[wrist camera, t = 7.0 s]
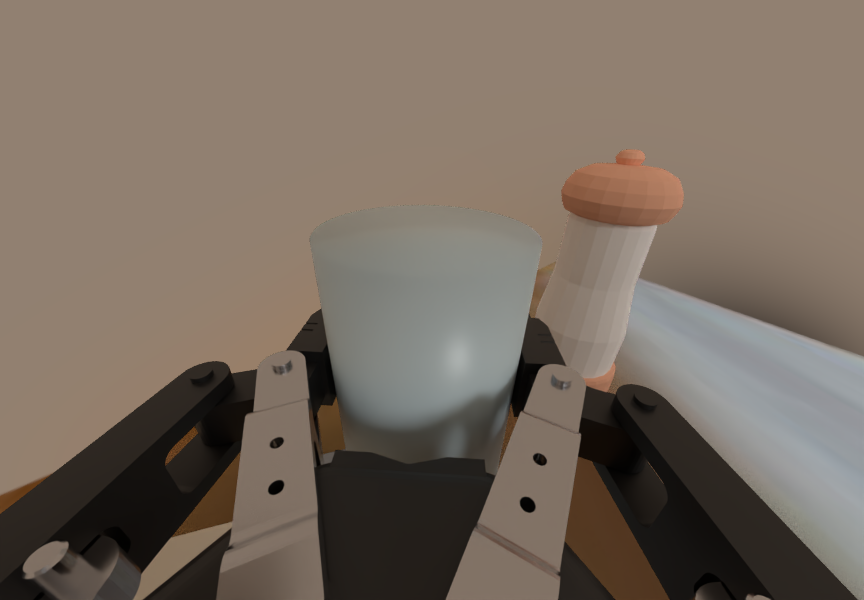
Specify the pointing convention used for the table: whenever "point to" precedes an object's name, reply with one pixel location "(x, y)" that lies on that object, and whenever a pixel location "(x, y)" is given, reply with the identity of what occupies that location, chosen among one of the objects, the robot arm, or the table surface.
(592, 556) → the table surface
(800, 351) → the table surface
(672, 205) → the pepper shaker
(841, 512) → the table surface
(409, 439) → the pale grey cylinder
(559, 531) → the robot arm
